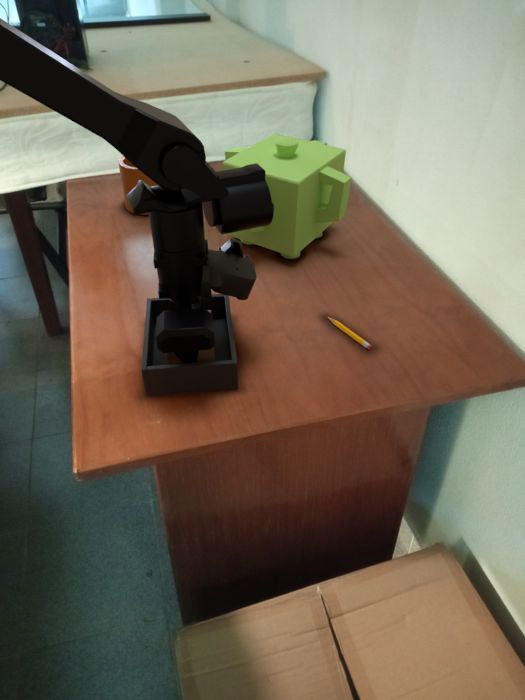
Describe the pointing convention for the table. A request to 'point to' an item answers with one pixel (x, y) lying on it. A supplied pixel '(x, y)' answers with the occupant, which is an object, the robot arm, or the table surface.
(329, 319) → the pencil
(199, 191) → the robot arm
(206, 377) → the bin
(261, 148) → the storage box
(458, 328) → the table surface
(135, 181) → the mug
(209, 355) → the package
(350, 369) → the table surface
